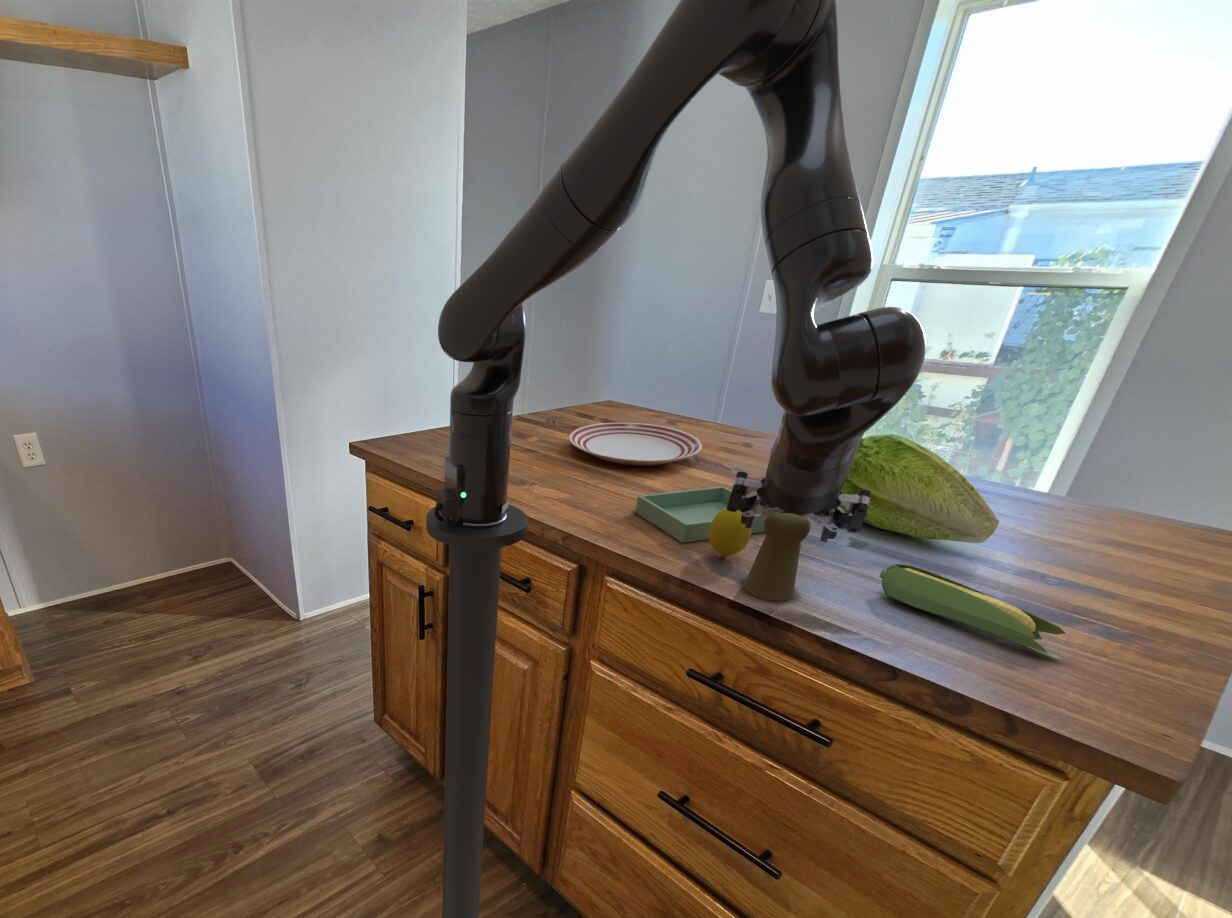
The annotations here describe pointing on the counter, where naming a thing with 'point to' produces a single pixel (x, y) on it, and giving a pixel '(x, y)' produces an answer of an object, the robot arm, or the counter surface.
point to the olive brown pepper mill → (778, 557)
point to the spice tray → (688, 512)
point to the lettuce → (917, 492)
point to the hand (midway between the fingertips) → (786, 528)
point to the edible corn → (965, 606)
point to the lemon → (728, 533)
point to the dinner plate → (635, 443)
